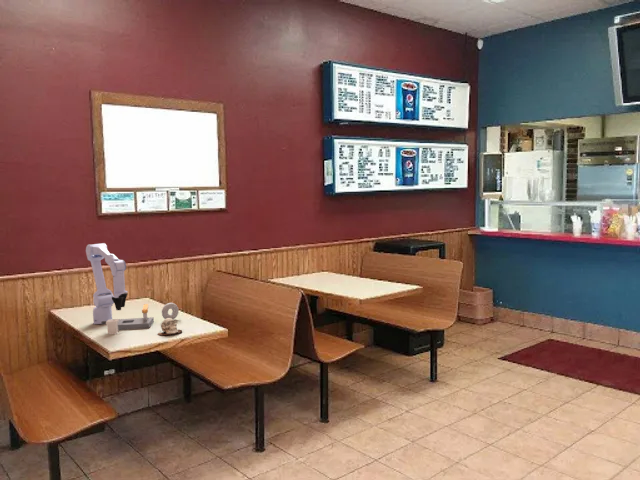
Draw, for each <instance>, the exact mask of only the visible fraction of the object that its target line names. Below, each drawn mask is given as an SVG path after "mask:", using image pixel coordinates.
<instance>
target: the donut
mask: <svg viewBox="0 0 640 480" xmlns="http://www.w3.org/2000/svg"><path fill="white" fill-rule="evenodd" d="M169 310H171V311H172V312H171V314H169ZM179 312H180V311H179V307H178V305H177V304H176V303H174V302H168V303H166V304H165V305H163V306H162V309H161V317H162V318H163V319H164V320H165V319H166V318H172V319H173V320H174V321H175V319H176V318H177V317H178V315H179Z"/></svg>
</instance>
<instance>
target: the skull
mask: <svg viewBox="0 0 640 480" xmlns="http://www.w3.org/2000/svg"><path fill="white" fill-rule="evenodd" d="M160 328H161V331H162V332H158V333H157V335H158V336H171V335H176V334H180V333H181V332H183V330H182V329H178V325H177V323H176V321H175V319H174V320H173V319H172V318H166V319H164V320H162V322H161V323H160Z"/></svg>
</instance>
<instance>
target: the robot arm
mask: <svg viewBox="0 0 640 480" xmlns="http://www.w3.org/2000/svg"><path fill="white" fill-rule="evenodd" d="M85 254H86V258H87V261H89V262H90V264H91V269H92V273H93V278H94V282H95V286H96V287H95V288H96V291H95V292H94V293H93V295H92V297H93V305H94V307H93V310H92V318H93V325H102V324H101V322H102V321H108V320H111V319H113V311H112V309H113V308H112V306H113V305H114V306H115V310H116V311H122V308H125V306H126V300H127V296H128V294H129V292H128V290H126V281H125V280H126V278H125V271H126V269H127V264H126V261H125V260H124V259H119V258H118V257H117V256H116V255H115V254H114V253H110V251H109V250H108V245H107V244H106V243H105V242H102V243H94V244H89V243H88V244H87V245H86V247H85ZM103 259H104V261H105V263H106V264H107V265H108V266H109V268H110V271H111V276H112V282H113V283H112V285H113V290H111V289H109V288H107V285H106V279H105V275H104V271H103V268H102V264H101V263H102V262H101V260H103ZM112 291H113V292H112ZM105 325H106V323H105Z"/></svg>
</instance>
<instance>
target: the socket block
mask: <svg viewBox="0 0 640 480" xmlns="http://www.w3.org/2000/svg"><path fill="white" fill-rule="evenodd" d="M142 315H143V317H138V318H135V317H133V318H118V319H119V322H118V331H120V330H121V331H122V330H139V329H141V330H142V329H149V328H150V327H151V326H152V325H153V324H154V322H155V321H154V317H152V316H151V317H148V312H147V313H142Z"/></svg>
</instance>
